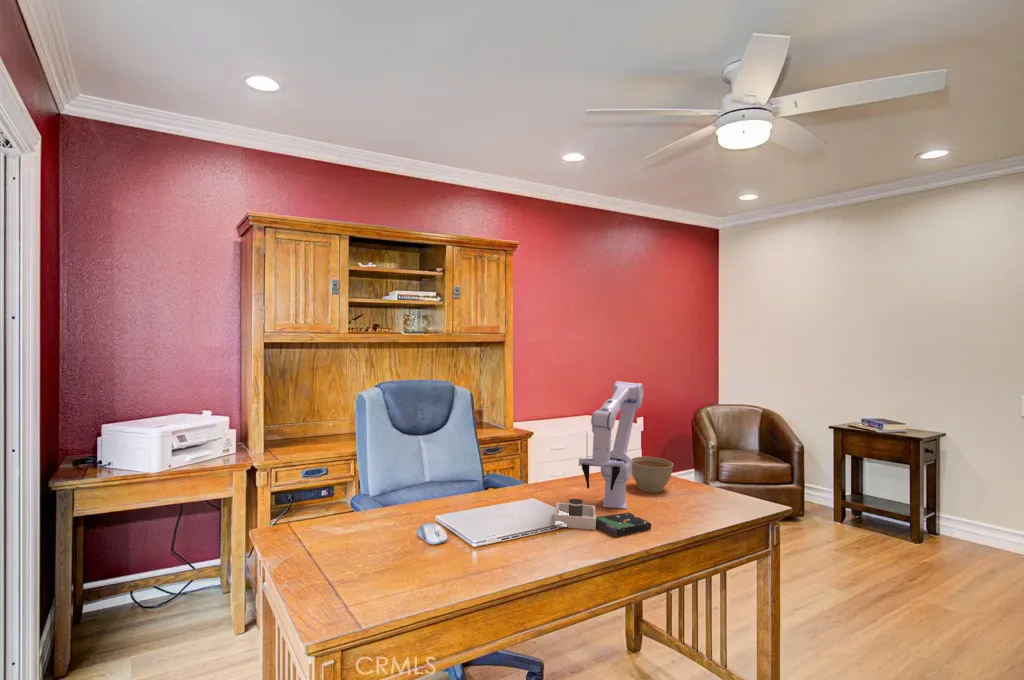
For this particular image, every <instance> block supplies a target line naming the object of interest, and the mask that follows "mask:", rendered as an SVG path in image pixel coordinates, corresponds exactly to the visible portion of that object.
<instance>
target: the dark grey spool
mask: <svg viewBox="0 0 1024 680" xmlns="http://www.w3.org/2000/svg"><path fill="white" fill-rule="evenodd" d="M567 502H568V504H569V516H580V517H582V512H583V505H584V501H583V500H582V499H580V498H570V499H568V501H567Z"/></svg>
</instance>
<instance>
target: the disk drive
mask: <svg viewBox="0 0 1024 680" xmlns="http://www.w3.org/2000/svg"><path fill="white" fill-rule="evenodd" d="M596 527H597V528H598V529H601V530H603V531H605V532H606V533H608V534H610V535H612V536H614V537H621V536H622V537H623V536H628V535H627V534H629V535H632V534H631V533H634V534H637V533H636V532H639V531H643V532H645V531H644V530H648V529H652V523H651V522H650V521H647V520H645V519H643V518H641V517H639V516H638V517H637V516H635V515H634V514H633V513H631V512H624V513H616V514H609V515H602V516H601V515H600V516H596ZM648 531H649V530H648ZM639 533H640V532H639Z"/></svg>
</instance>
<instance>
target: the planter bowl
mask: <svg viewBox="0 0 1024 680" xmlns="http://www.w3.org/2000/svg"><path fill="white" fill-rule="evenodd" d="M631 460H632V474H631V476H632V477H633V479H634V481H635V483H636V484H637V489H638V490H641V491H642V492H643V491H644V492H646V493H657V494H658V493H662V492H663V491H664V488H665V487H666V486H667V485H668V482H669V481H670V479H671V477H672V473H673V468H674V463H673V462H672V461H669V460H668V459H666V458H665V459H664V458H661V457H660V458H659V457H653V456H635V457H633V458H631Z"/></svg>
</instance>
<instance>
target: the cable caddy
mask: <svg viewBox="0 0 1024 680" xmlns="http://www.w3.org/2000/svg"><path fill="white" fill-rule="evenodd" d="M559 510H560V511H563V512H566V513H569V504H568V503H567V502H566V503H565V502H556V505H555V512H554V513H555V514H554V522H555V521H561V522H564V523H565V524H567V526H568V528H569V529H579V530H590V529H592V530H593V531H596V527H597V526H596V517H597V513H596V505H593V504H592V505H590V504H583V512H582V517H580V516H568V515H558V513H559ZM592 530H591V531H592Z"/></svg>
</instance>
